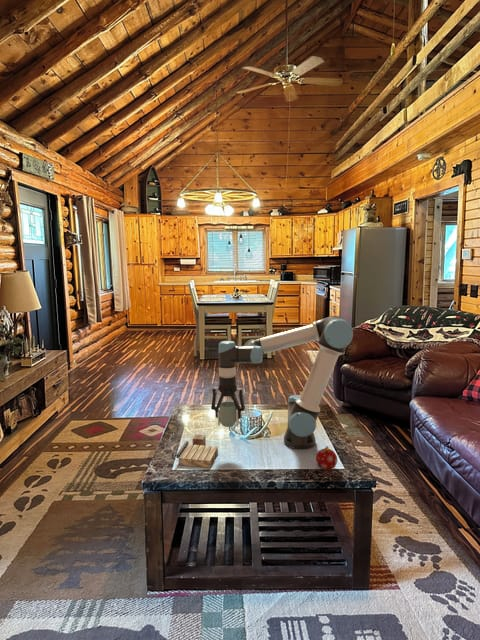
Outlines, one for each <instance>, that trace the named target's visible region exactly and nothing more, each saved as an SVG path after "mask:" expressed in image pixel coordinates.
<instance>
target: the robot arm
mask: <svg viewBox="0 0 480 640" xmlns="http://www.w3.org/2000/svg"><path fill="white" fill-rule="evenodd" d="M353 337H354V330H353V327H352V325H351V324H350V322H348V321H347V320H346V319H344V318H343V317H341V316H340V315H330V316H328V317H325V318H321V319H319V320H315V321H313V323H311V324H308V325H305V326H302V327H297V328H294V329H290V330H286V331H282V332H278V333H275V334H271V335H267V336H265V337H264V336H263V337H261V338H260V337H259V338H257V339H249V340H247V341H246V342H245V343H244V344H243V345H236V342H235V341H233V340H223V341H220V342H218V376H219V377H218V387H216V386H214V387H213V388H212V399H211V400H212V401H211V406H210V408H211V411H212V410H214V413H215V415H214V416H215V418H216V419H217V426H220V425H222V424H221V421H220V409H219V406H220V404H221V403H222V402H223V400H224V398H225V397H229V398H231V399H232V402H234V404H235V406H236V409H237V412H236V423H235V427H239V425H240V420H241V418H242V412H244V411H245V409H246V405H245V399H244V396H243V395H244V394H243V391H244V388H242V387H241V388H240V387H237V376H236V374H237V369H236V368H237V367H236V366H237V364H261V363H262V362H263V356H264V355H265V354H269V353H273V352H276V351H279V350H284V349H288V348H292V347H295V346H299V345H303V344H306V343H311V342H316V341H317V345H318V347H319V349H318V352H317V354H316V357H315V359H314V363H313V364H312V367H311V369H310V372H309V375H308V377H307V380H306V383H305V384H304V387H303V388H302V389H303V390H302V392H301V394H292V395H290V396H288V400H287V427H286V430H285V433H284V436H283V444H284V445H285V446H286V447H289V448H291V449H295V450H296V449H297V450H308V449H312V448H314V447H315V445H316V441H317V440H316V437H315V433H314V432H315V431H316V429H317V420H318V418H319V416H320V412H321V407H320V403H321V401H322V398H323V395H324V393H325V391H326V388H327V385H328V383H329V381H330V378H331V375H332V373H333V371H334V368H335V366H336V364H337V361H338V358H339V356H342V355H344V353H345V351H346V349H347V346H349V344H350V343H351V342H352V341H353ZM218 392H219V393H220V397H219V399H218V402H217V394H218ZM236 392H237V393H238V398H239V401H238V398H237V396H236ZM216 403H217V405H216Z"/></svg>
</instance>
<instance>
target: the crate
mask: <svg viewBox="0 0 480 640" xmlns="http://www.w3.org/2000/svg"><path fill="white" fill-rule="evenodd" d="M206 443H207V442H206V434H197V433H196V434H194V435H193V437H192V445H204V446H207V445H206Z"/></svg>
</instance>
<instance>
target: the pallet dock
mask: <svg viewBox="0 0 480 640" xmlns="http://www.w3.org/2000/svg"><path fill="white" fill-rule="evenodd" d="M218 454H219V449H218V446H213V445H205V446H204V445H193V443H189V440H186V441H185V442H184V443H183V444H182V446H181V448H180V449H179V450H178V452H177V453H176V454H175V456H176V459H178V465H180V466H188V467H189V466H192V467H201V468H202V467H203V468H211V467H212V463H213V462H214V461H215V459H216V456H217V455H218Z"/></svg>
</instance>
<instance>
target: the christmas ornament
mask: <svg viewBox="0 0 480 640" xmlns="http://www.w3.org/2000/svg"><path fill="white" fill-rule="evenodd" d="M315 457H316V458H315V460H316V463H317V466H318V467H319V468H320V469H322V470H324V471H330V470H333V469H334V468H335V467H336V466H337V464H338V456H337V454H336V453H335V451H333V450H332V449H331V448H329V446H328V445H326V446H325V448H321V449H320V450H319V451H318V452H317V454H316V456H315Z"/></svg>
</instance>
